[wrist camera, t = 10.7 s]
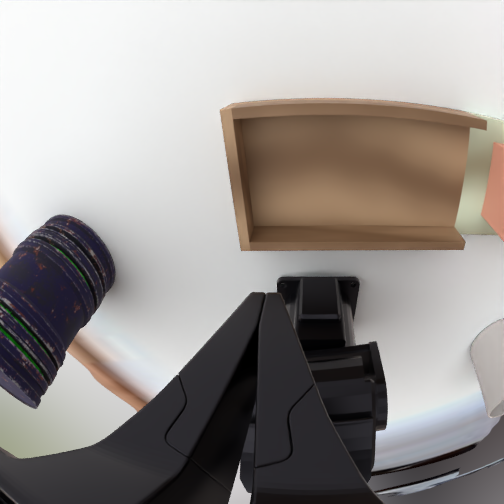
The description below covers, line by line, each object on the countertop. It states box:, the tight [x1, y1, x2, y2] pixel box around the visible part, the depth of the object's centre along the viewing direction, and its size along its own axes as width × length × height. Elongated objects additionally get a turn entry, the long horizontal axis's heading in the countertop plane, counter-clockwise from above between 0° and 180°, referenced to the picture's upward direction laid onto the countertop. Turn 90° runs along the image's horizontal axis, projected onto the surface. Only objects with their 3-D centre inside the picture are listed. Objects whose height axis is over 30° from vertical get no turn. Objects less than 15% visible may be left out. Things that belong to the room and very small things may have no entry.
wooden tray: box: [220, 98, 504, 251], centre depth 15 cm, size 9×23×3 cm, turn 96°
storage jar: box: [0, 215, 115, 409], centre depth 20 cm, size 10×10×15 cm
